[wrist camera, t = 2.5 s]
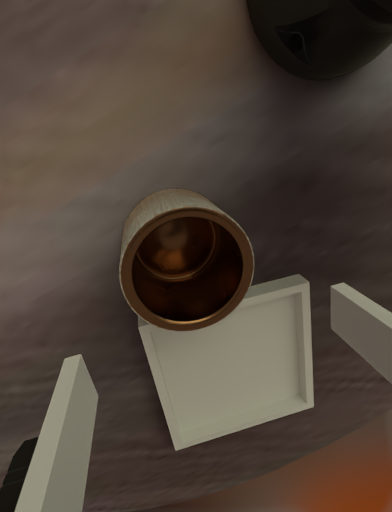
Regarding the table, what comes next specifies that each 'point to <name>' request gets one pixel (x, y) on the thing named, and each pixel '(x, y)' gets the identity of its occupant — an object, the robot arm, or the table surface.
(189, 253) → the planter
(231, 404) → the tray
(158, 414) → the table surface
